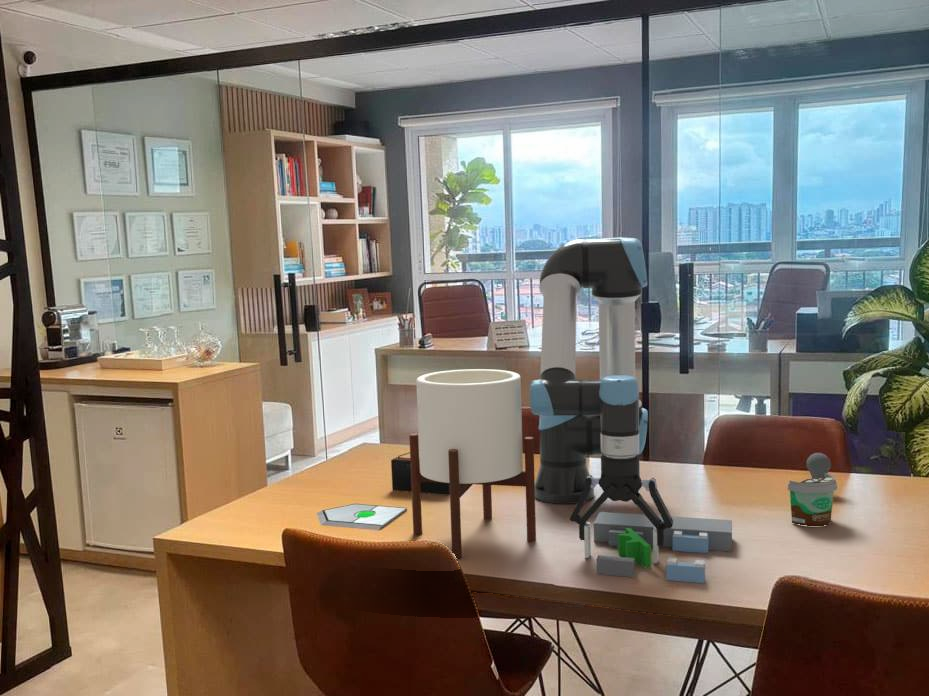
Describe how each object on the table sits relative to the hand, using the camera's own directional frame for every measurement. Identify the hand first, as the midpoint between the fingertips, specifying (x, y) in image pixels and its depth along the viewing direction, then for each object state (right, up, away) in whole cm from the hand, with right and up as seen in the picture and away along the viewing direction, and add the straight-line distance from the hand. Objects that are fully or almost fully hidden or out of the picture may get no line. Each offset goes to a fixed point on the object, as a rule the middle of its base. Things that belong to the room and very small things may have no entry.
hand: (621, 558), depth 169 cm
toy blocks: (+8, 0, +2) cm, 8 cm away
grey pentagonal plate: (-58, +1, +34) cm, 68 cm away
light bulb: (+56, +6, +40) cm, 69 cm away
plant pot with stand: (-29, 0, +16) cm, 34 cm away
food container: (+47, +3, +17) cm, 50 cm away
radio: (-42, +4, +53) cm, 67 cm away
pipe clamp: (+2, 0, +1) cm, 2 cm away
